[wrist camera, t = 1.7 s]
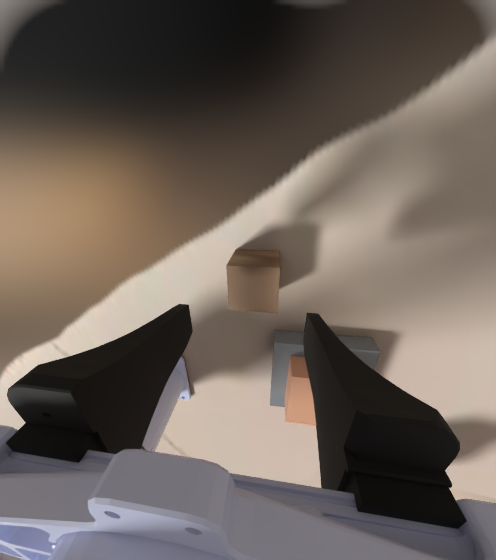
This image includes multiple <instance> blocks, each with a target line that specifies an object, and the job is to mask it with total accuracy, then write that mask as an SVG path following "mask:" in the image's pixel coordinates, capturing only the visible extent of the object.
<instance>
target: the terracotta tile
mask: <svg viewBox="0 0 496 560" xmlns="http://www.w3.org/2000/svg"><path fill="white" fill-rule="evenodd" d="M285 422H293V423H301V424H308V425H316V419H315V410H314V401H313V395H312V390H311V385H310V380H309V376H308V371H307V366H306V361H305V357H298V356H290V361H289V369H288V377H287V385H286V393H285Z"/></svg>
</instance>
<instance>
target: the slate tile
mask: <svg viewBox="0 0 496 560" xmlns="http://www.w3.org/2000/svg"><path fill="white" fill-rule="evenodd" d="M336 336H337V337H338V338H339V339H340V341H341V342H342V343H343V344H344V345H345V346H346V347H347V348H348V349H349V350H350V351H352V352H353V353H354V354H355V355H356V356H357V357H358V358H359V359H361V360H362V361H363V362H364V363H365V364H367V365H368V366H369V367H370V368H372V369H373V370H374V368H375V365H376V362H377V360H378V357H379V354H380V350H379V349H378V347H377V345H376V344H375V342H374V340H373V338H365V337H353V336H340V335H336ZM303 337H304V333H303V332H291V331H278V330H275V333H274V348H273V363H272V378H271V396H270V405H271V406H280V407H285V393H286V385H287V377H288V369H289V361H290V356H298V357H305V356H304V346H303Z"/></svg>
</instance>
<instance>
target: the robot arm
mask: <svg viewBox="0 0 496 560" xmlns="http://www.w3.org/2000/svg"><path fill="white" fill-rule="evenodd" d="M192 331H193V330H192V324H191V317H190V311H189V305H185V304H179V305H177V306H175V307H173V308H172V309H170V310H168V311H167V312H165V313H164V314H162V315H160V316H159V317H157V318H155V319H154V320H152V321H150V322H149V323H147V324H145V325H143V326H142V327H140V328H138V329H136V330H135V331H133V332H131V333H129V334H127V335H125V336H122V337H120V338H118V339H116V340H114V341H111V342H109V343H106V344H104V345H101V346H99V347H96V348H94V349H91V350H88V351H85V352H82V353H79V354H76V355H73V356H69V357H66V358H62V359H59V360H55V361H51V362H48V363H44V364H40V365H38V366H36V367H35V368H34V369H33V370H31V371H30V372H29V373H28V374H26V375H25V376H24V377H23V378H21V379H20V380H19V381H17V382H16V383H15V384H14V385H12V386H11V387H10V388H9V389H8V392H7V397H8V400H9V402H10V403H11V405H12V406H13V407H14V409H15V410H16V411H17V412H18V414H19V415H20V416H21V417H22V419H23V420H24V421H25V422H26V423H25V424H24V425H23V426H22V427H21V428H20V429H19V430H17V429H15V428H13V427H9V426H3V425H0V560H496V503H491V502H485V501H478V500H472V499H461V500H457V501H456V500H455V499H454V497H453V495H452V493H451V491H450V489H449V488H451V487H452V483H451V481H450V479H449V477H448V475H447V474H446V472H445V470H446V468H447V467H448V466H449V465H450V464H451V462H452V461H453V460H454V459H455V458H456V456H457V454H458V452H459V450H460V443H459V441H458V439H457V438H456V436H455V435H454V433H453V432H452V430H451V429H450V427H449V426H448V424H447V423H446V421H445V420H444V419H443V417H442V416H441V414H440V413H439V412H438V411H437V410H436V409H434V408H433V407H431V406H429V405H427V404H426V403H424V402H422V401H420V400H419V399H417V398H415V397H413V396H412V395H410V394H408V393H407V392H405V391H403V390H402V389H400V388H399V387H397V386H396V385H394V384H393V383H391V382H390V381H388V380H387V379H385V378H384V377H382V376H381V375H380V374H378V373H377V372H376V371H374V370H373V369H372V368H370V367H369V366H368V365H367V364H365V363H364V362H363V361H362V360H361V359H359V358H358V357H357V356H356V355H355V354H354V353H353V352H352V351H350V350H349V349H348V348H347V347H346V346H345V345H344V344H343V343H342V342H341V341H340V339H339V338H338V337H337V336H336V335H335V334H334V333H333V332H332V330H331V329H330V328H329V327H328V326H327V324H326V323H325V322H324V321H323V319H322V318H321V317H320V316H319V314H316V313H307V316H306V323H305V330H304V337H303V346H304V356H305V361H306V366H307V371H308V376H309V380H310V385H311V390H312V395H313V401H314V410H315V419H316V429H317V439H318V450H319V461H320V473H321V486H322V488H316V487H311V486H304V485H298V484H293V483H287V482H280V481H274V480H268V479H262V478H256V477H250V476H244V475H238V474H232V473H229V472H228V470H226V469H224V468H223V467H221V466H220V465H218V464H216V463H213V462H210V461H206V460H203V459H197V458H190V457H184V456H178V455H171V454H165V453H159V452H155V450H156V447H157V445H158V443H159V441H160V438H161V436H162V434H163V432H164V430H165V427H166V425H167V423H168V421H169V418H170V416H171V414H172V412H173V410H174V407H175V405H176V403H177V401H178V399H182V400H190V398H191V393H190V388H189V383H188V377H187V372H186V367H185V362H184V358H183V357H181V356H182V354H183V352H184V350H185V348H186V346H187V344H188V342H189V339H190V337H191V334H192Z"/></svg>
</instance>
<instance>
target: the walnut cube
mask: <svg viewBox="0 0 496 560" xmlns="http://www.w3.org/2000/svg"><path fill="white" fill-rule="evenodd" d="M279 278H280V251H265V250H235V252H234V254H233V255H232V257H231V259H230V260H229V262H228V264H227V283H228V301H229V310H238V311H253V312H267V313H277V308H278V293H279Z"/></svg>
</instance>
